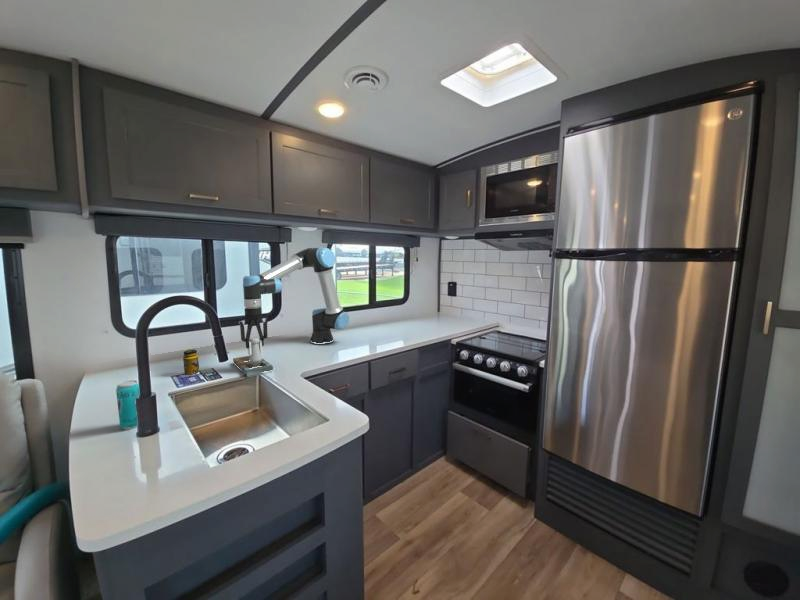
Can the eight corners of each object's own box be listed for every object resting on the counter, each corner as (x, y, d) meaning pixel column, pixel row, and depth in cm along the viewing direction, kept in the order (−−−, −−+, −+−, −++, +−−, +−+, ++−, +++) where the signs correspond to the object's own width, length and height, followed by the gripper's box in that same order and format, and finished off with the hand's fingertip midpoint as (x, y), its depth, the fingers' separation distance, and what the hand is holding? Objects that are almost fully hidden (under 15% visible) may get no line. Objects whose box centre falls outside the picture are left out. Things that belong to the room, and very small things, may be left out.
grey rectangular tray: (233, 363, 170) (233, 358, 170) (257, 359, 178) (256, 354, 177) (247, 377, 150) (247, 371, 150) (273, 371, 158) (272, 365, 158)
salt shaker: (255, 365, 155) (254, 339, 153) (246, 364, 157) (245, 338, 155) (264, 362, 160) (263, 337, 159) (256, 361, 162) (254, 336, 161)
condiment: (201, 374, 154) (200, 350, 152) (181, 379, 148) (179, 354, 146) (198, 371, 159) (196, 347, 157) (177, 375, 153) (175, 351, 151)
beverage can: (120, 425, 106) (115, 382, 104) (142, 420, 110) (138, 378, 108) (120, 432, 102) (115, 388, 100) (143, 426, 106) (138, 383, 104)
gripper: (235, 309, 147) (238, 358, 150) (273, 306, 158) (275, 352, 161) (231, 308, 152) (234, 355, 155) (268, 304, 164) (270, 348, 166)
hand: (255, 353), depth 158 cm, fingers closed on salt shaker, 4 cm apart
